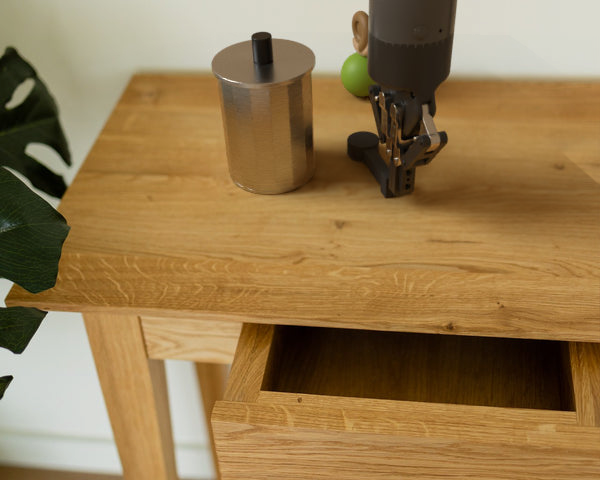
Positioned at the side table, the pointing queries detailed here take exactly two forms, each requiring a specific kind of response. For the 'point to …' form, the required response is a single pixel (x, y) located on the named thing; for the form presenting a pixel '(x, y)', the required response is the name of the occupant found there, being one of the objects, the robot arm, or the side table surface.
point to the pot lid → (263, 62)
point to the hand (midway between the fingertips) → (400, 191)
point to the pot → (269, 136)
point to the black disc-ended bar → (370, 157)
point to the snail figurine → (358, 59)
